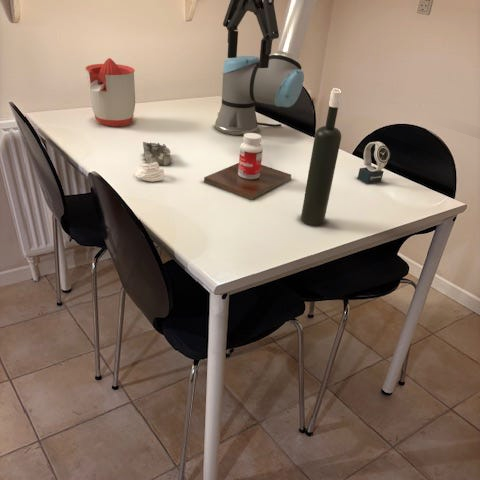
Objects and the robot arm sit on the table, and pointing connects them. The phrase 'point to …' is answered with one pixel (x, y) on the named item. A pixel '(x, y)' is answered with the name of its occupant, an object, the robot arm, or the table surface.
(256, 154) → the pill bottle
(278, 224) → the table surface
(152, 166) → the cream folded ring
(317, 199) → the wine bottle
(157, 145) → the egg carton
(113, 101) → the citrus juicer
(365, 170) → the watch
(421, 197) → the table surface
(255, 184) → the walnut board
